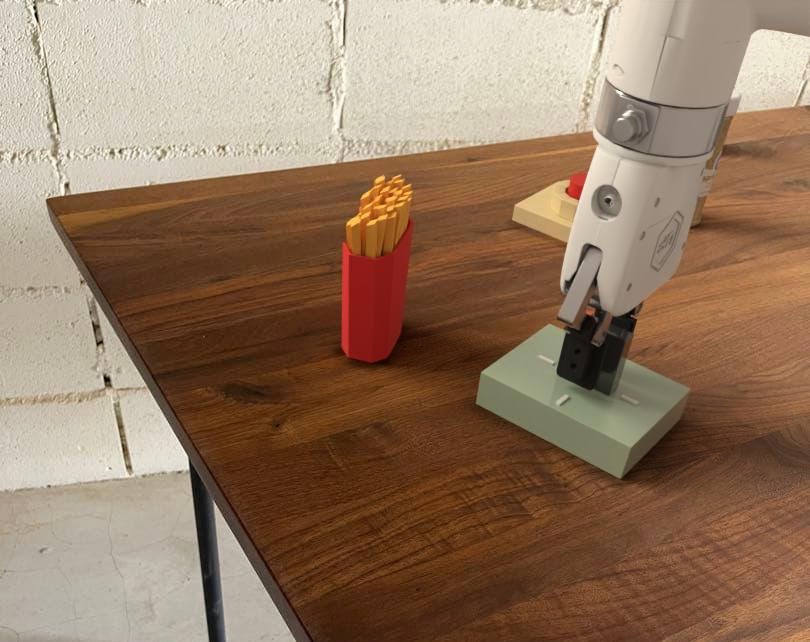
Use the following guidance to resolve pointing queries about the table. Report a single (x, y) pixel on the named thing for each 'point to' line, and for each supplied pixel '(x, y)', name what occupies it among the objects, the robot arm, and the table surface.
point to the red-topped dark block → (613, 358)
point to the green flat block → (581, 404)
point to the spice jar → (715, 157)
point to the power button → (577, 185)
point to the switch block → (549, 211)
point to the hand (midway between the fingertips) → (590, 367)
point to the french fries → (376, 271)
